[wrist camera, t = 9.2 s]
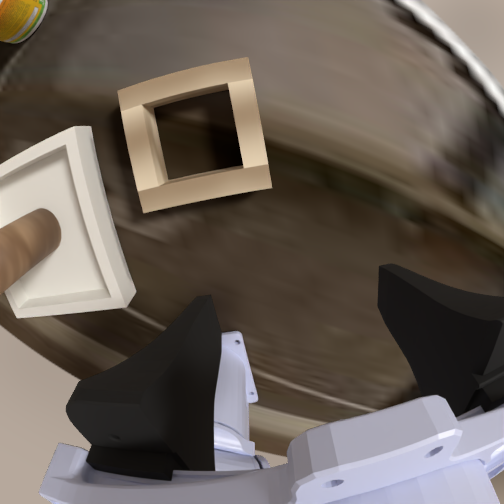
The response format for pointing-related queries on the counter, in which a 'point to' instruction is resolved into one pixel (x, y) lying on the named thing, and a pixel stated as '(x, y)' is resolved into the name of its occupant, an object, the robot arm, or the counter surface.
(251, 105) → the collar
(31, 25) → the supplement bottle
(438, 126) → the counter surface
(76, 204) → the tray
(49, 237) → the wooden dowel
